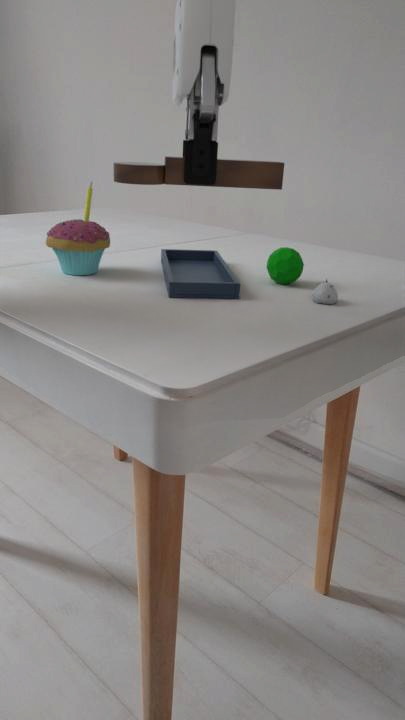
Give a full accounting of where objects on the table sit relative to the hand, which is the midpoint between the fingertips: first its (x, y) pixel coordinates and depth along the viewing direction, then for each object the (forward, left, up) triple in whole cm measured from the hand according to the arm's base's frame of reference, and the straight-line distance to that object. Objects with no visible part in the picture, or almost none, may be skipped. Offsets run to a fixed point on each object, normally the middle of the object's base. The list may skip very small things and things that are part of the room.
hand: (198, 181), depth 58 cm
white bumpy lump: (+17, +6, -14) cm, 23 cm away
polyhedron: (+14, +15, -14) cm, 25 cm away
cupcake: (-14, +19, -14) cm, 27 cm away
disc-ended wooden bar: (0, 0, 0) cm, 0 cm away
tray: (+2, +17, -14) cm, 22 cm away
